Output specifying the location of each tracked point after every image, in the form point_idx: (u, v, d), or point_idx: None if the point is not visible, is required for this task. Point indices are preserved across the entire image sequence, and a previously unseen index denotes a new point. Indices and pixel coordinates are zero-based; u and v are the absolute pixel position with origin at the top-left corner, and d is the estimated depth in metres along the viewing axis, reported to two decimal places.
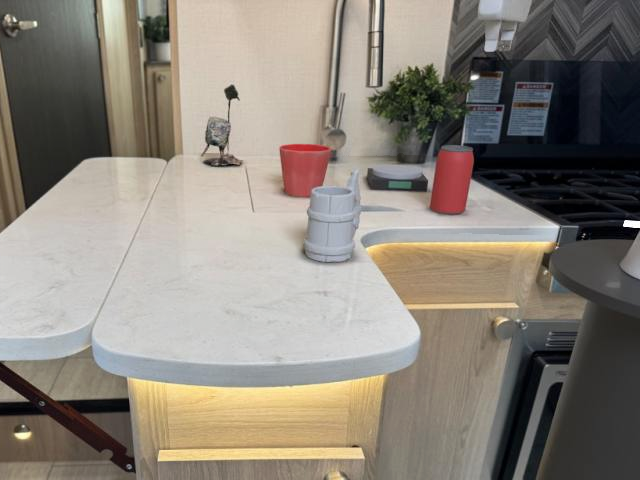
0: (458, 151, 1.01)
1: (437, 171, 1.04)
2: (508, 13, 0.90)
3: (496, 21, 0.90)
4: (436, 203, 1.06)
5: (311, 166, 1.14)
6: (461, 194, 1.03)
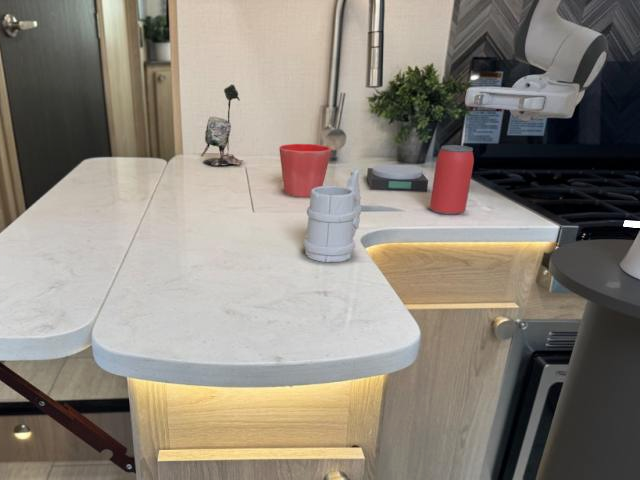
0: (458, 151, 1.01)
1: (437, 171, 1.04)
2: (490, 88, 1.13)
3: None
4: (436, 203, 1.06)
5: (311, 166, 1.14)
6: (461, 194, 1.03)
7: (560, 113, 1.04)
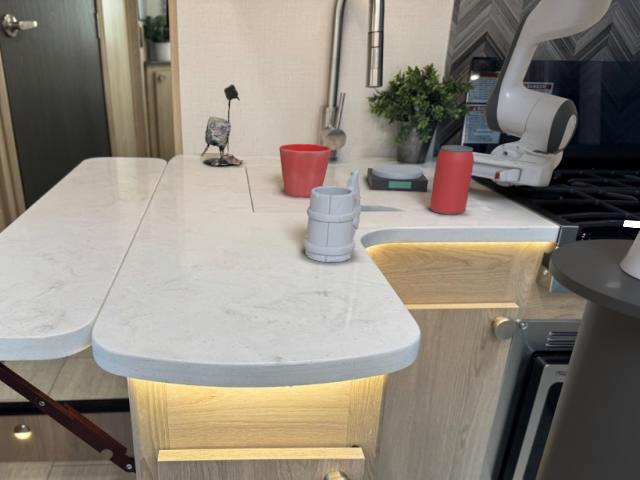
0: (458, 151, 1.01)
1: (437, 171, 1.04)
2: None
3: None
4: (436, 203, 1.06)
5: (311, 166, 1.14)
6: (461, 194, 1.03)
7: (535, 185, 1.07)
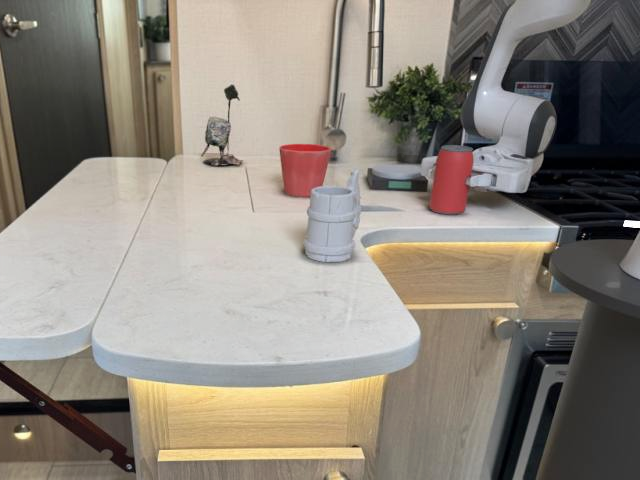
0: (458, 151, 1.01)
1: (437, 171, 1.04)
2: None
3: (433, 166, 1.12)
4: (436, 203, 1.06)
5: (311, 166, 1.14)
6: (461, 194, 1.03)
7: (512, 192, 1.02)
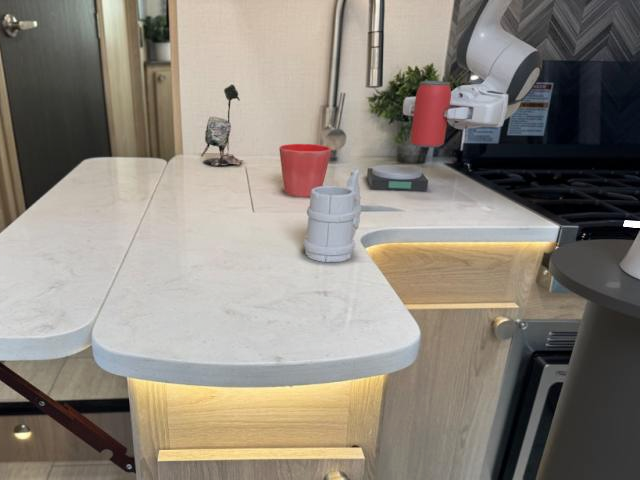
0: (436, 84, 1.06)
1: (416, 105, 1.10)
2: None
3: (414, 104, 1.17)
4: (416, 137, 1.11)
5: (311, 166, 1.14)
6: (439, 127, 1.09)
7: (487, 123, 1.07)
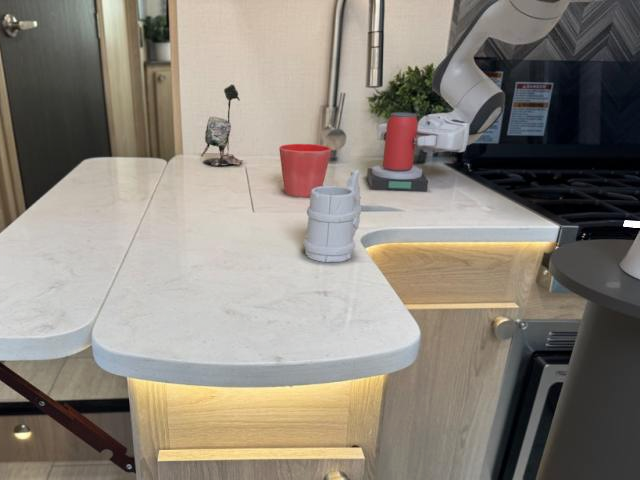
0: (403, 116, 1.20)
1: (387, 134, 1.23)
2: None
3: None
4: (387, 162, 1.25)
5: (311, 166, 1.14)
6: (407, 153, 1.23)
7: (449, 149, 1.21)
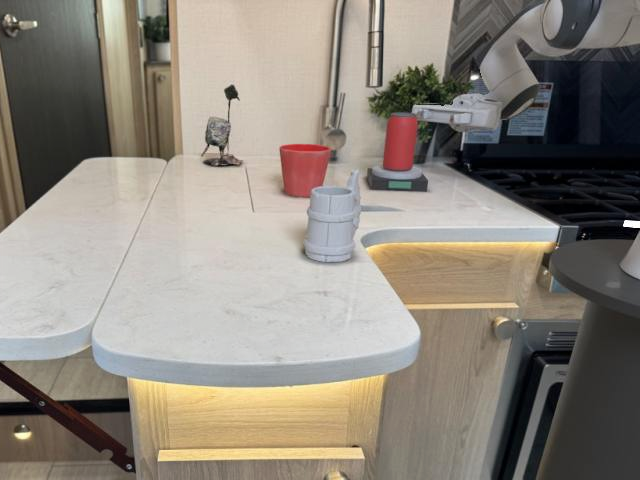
0: (403, 116, 1.20)
1: (387, 134, 1.23)
2: (430, 105, 1.36)
3: None
4: (387, 162, 1.25)
5: (311, 166, 1.14)
6: (407, 153, 1.23)
7: (484, 126, 1.26)
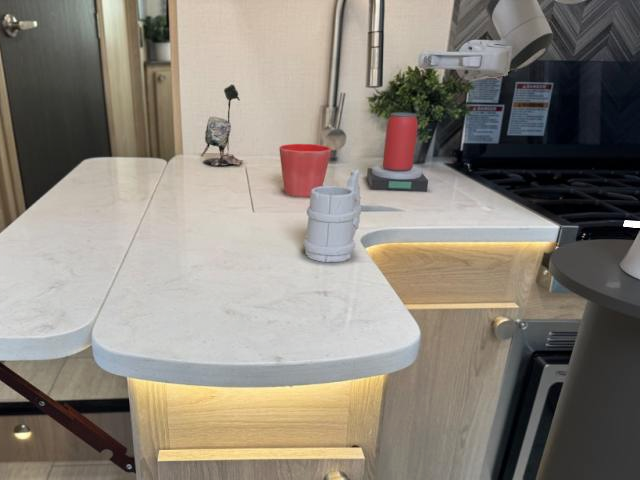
0: (403, 116, 1.20)
1: (387, 134, 1.23)
2: None
3: None
4: (387, 162, 1.25)
5: (311, 166, 1.14)
6: (407, 153, 1.23)
7: (494, 69, 1.22)
